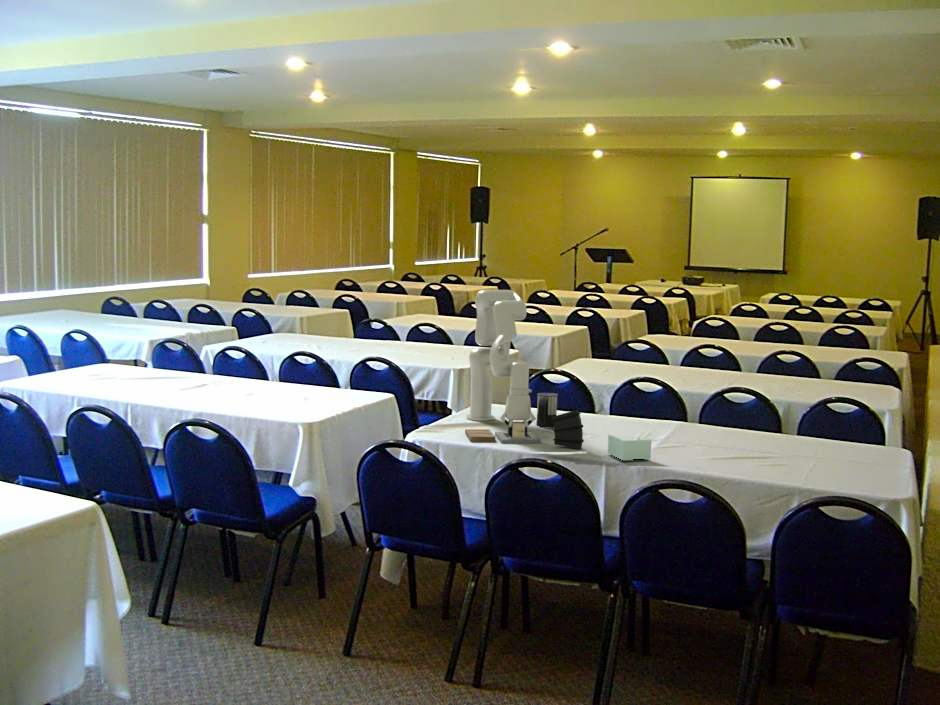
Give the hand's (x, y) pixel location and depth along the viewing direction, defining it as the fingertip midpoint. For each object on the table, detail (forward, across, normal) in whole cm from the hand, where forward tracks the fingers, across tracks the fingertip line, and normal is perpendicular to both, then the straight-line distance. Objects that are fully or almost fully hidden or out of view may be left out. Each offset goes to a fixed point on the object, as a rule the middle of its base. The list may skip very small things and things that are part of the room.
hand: (517, 435), depth 414 cm
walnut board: (+2, +15, -3) cm, 15 cm away
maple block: (+2, 0, 0) cm, 2 cm away
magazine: (+3, -19, +18) cm, 27 cm away
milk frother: (+2, -21, -23) cm, 31 cm away
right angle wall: (+2, -37, +31) cm, 49 cm away
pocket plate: (+2, 0, 0) cm, 2 cm away
